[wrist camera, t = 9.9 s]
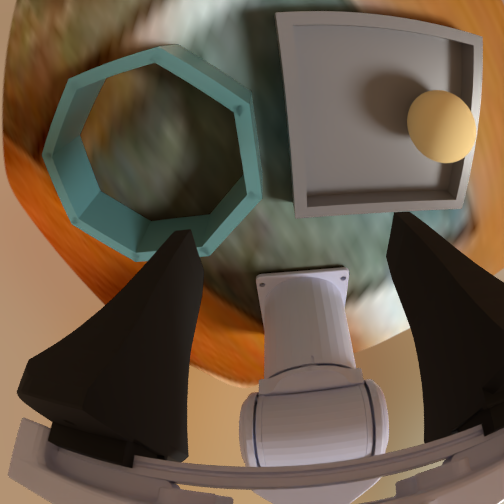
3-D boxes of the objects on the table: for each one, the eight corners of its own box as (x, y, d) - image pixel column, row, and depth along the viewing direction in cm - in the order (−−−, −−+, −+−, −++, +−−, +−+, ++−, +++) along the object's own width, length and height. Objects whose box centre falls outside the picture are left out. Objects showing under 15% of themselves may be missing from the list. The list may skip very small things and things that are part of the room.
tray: (450, 194, 20) (461, 208, 19) (292, 202, 21) (295, 218, 20) (465, 34, 12) (482, 36, 10) (273, 15, 13) (275, 12, 12)
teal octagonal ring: (268, 218, 22) (268, 251, 19) (110, 234, 24) (93, 265, 21) (243, 32, 14) (238, 30, 11) (56, 87, 15) (23, 101, 12)
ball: (400, 143, 18) (459, 152, 16) (410, 170, 15) (479, 180, 13) (402, 80, 15) (465, 91, 14) (415, 91, 12) (491, 106, 10)
